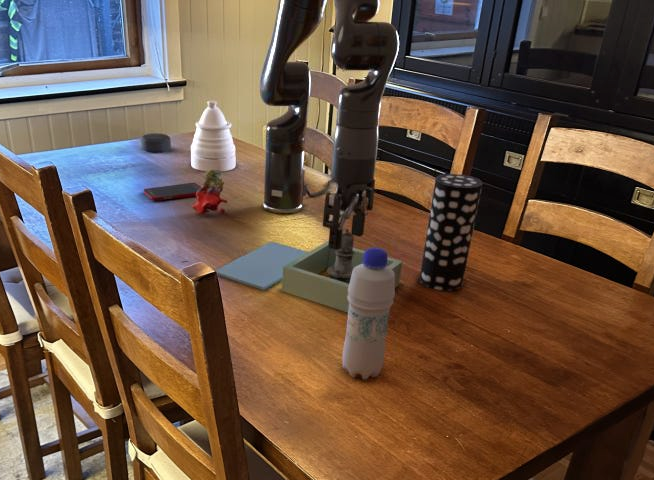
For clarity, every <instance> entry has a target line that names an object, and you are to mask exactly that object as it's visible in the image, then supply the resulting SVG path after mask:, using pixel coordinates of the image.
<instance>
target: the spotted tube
mask: <svg viewBox="0 0 654 480" xmlns="http://www.w3.org/2000/svg"><path fill="white" fill-rule="evenodd" d="M482 188H483V181H482V180H480V178H477V177H474V176H471V175H465V174H460V173H459V174H458V173H444V174H440V175H437V176H436V177H435V180H434V186H433V192H432V197H431V198H432V199H431V203H430V204H431V205H430V209H429V210H430V211H429V216H428V217H429V218H428V223H427V230H426V235H425V242H424V249H423V255H422V260H421V261H422V262H421V269H420V273H419V282H420V283H421V284H422V285H424V286H426V287H428V288H431V289H434V290H439V291H454V290H458V289H460V288H461V287H463V283H464V279H465V273H466V269H467V264H468V259H469V254H470V249H471V244H472V238H473V233H474V229H475V223H476V218H477V213H478V210H479V209H478V208H479V203H480V198H481V193H482Z"/></svg>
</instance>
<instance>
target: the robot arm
mask: <svg viewBox="0 0 654 480" xmlns="http://www.w3.org/2000/svg"><path fill="white" fill-rule="evenodd" d="M333 2H334V9H335V10H334V11H335V14H334V26H333V27H334V28H333V34H332V39H331V45H330V55H331V59H332V61H333V64H335V66H336V67H337V68H338V69H340V70H342V71H368V73H367V75H366V77H365V78H364V79H363V80H362V81H360V82H358V83H354V84H350V85H347V86H343V87H342V88H341V89H340V91H339V93H338V98H337V108H336V109H337V111H336V120H335V121H336V122H335V123H336V124H335V129H334V133H333V139H332V140H333V141H332V154H331V155H332V157H331V167H330V177H331V179H329V180H328V181H327V184H326V185H327V186H326V187H325V188H324V189H321V190H320V191H318V192H316V193H311V192H310V190H309V189H308V188H307V187H308V186H307V185H308V184H307V182H305V172H306V169H305V167H304V166H305V165H304V164H305V148H306V147H305V146H306V133H307V132H306V131H307V127H308V118H309V116H308V115H309V106H310V97H311V89H312V76H311V74H312V73H311V70H310V67H309V65H308V64H307V63H306V62H304V61H289V59H290V58H291V56H292V55H293V54H294V52H295V51H296V50H297V49H299V47H301V46H302V45H303V44H304V42H305V41H307V40H308V39H309V38H310V37H311V35H313V33H315V31H316V30H317V29H318V27H320V25H321V22H322V20H323V18H324V14H325V11H326V7H327V3H328V0H278V4H277V10H276V16H275V21H274V25H273V26H274V27H273V30H272V31H273V32H272V36H271V40H270V43H269V46H268V49H267V53H266V57H265V60H264V63H263V67H262V71H261V75H260V80H259V81H260V82H259V94H260V98H261V101H262V102H263V103H264V104H265V105H266V106H269V107H270V106H271V107H288V110H287V111H286V112H284V113H283V114H282V115H280V116H279V117H276V118H274V119H272V120H270V121H268V122H267V124H266V126H265V150H264V151H265V154H264V186H263V187H264V188H263V189H264V190H263V209H264V210H265V211H268V212H271V213H274V214H281V215H282V214H283V215H284V214H285V215H287V214H294V213H299V212H300V211H301V210H302V207H303V206H304V197H306V196H308V197H311V198H315V197H318V196H321V195H323V194H324V193H326V194H325V198H324V209H323V217H322V227H324V228H328V229H329V235H328V241H329V248H332V249H335V250H339V249H340V248H341V243H342V233H343V230H344V229H343V228H344V225H345V223H346V220H348V219H350V218H351V216H352V222H351V232H350V233H351V234H352V235H353V236H354V237H355V236H356V237H362V236H364V233H365V222H366V217H367V216H368V215H369V211H371V212H372V209H373V207H374V198H375V197H374V196H375V185H376V179H375V173H376V163H377V154H378V145H379V121H380V113H381V105H382V99H383V95H384V92H385V89H386V86H387V84H388V81H389V77H390V75H391V72H392V70H393V67H394V65H395V62H396V59H397V56H398V52H399V49H400V48H399V46H400V40H399V34H398V31H397V29H396V27H395V26H394V25H393V24H392V23H390V22H387V21H371V20H373V18H374V17H375V16H376V15H377V13H378V11H379V8H380V0H333ZM333 182H335V183H336V189H335V191H334V193H333V192H329V191H328V190H330V189H331V183H333ZM352 212H353V215H352Z"/></svg>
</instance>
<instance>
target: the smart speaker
mask: <svg viewBox="0 0 654 480" xmlns="http://www.w3.org/2000/svg"><path fill="white" fill-rule="evenodd" d="M171 140H172V139H171V137H170V136H169V135H168V134H165V133H155V132H154V133H153V132H152V133H147V134H143V135H142V136H141V138H140V141H141V142H140V143H141V149H142V150H144V151H146V152H148V153H164V152H167V151H169V150H170V149H171V147H172V143H171V142H172V141H171Z"/></svg>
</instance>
